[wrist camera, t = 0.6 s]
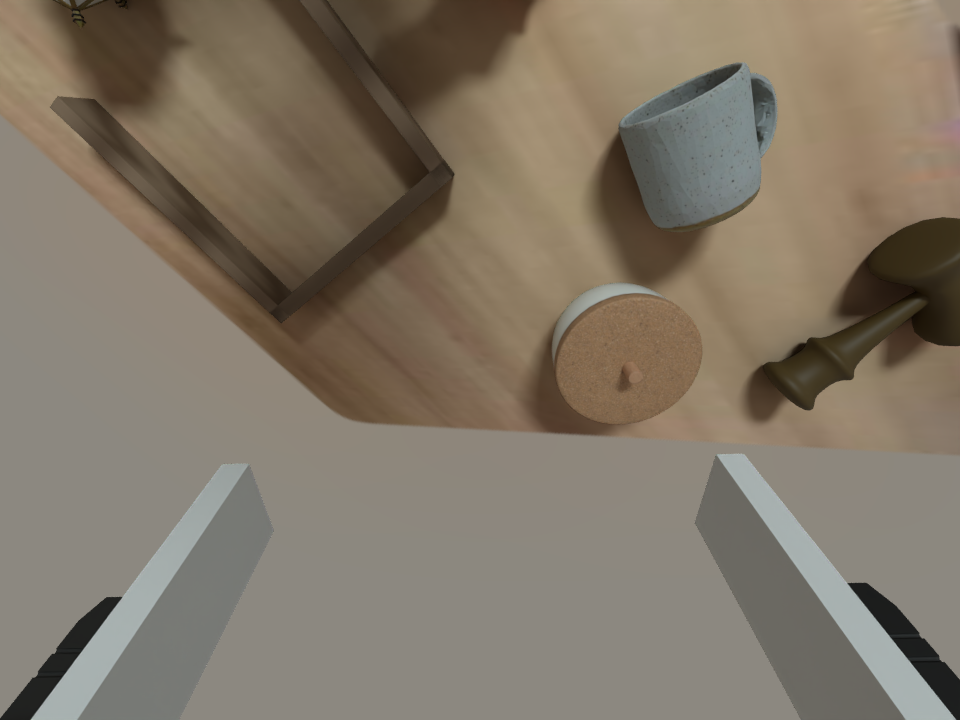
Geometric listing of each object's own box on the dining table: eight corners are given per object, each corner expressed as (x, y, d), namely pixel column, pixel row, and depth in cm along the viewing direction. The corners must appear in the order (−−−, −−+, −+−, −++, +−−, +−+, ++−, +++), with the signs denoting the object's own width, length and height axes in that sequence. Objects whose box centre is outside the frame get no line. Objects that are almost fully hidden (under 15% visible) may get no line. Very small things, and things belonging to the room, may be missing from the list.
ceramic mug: (640, 227, 35) (681, 250, 28) (603, 126, 31) (640, 123, 24) (774, 157, 32) (855, 163, 26) (750, 40, 29) (836, 11, 22)
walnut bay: (86, 109, 31) (49, 107, 28) (248, -106, 26) (222, -134, 23) (295, 309, 38) (281, 323, 35) (454, 173, 33) (452, 177, 30)
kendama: (734, 344, 40) (969, 172, 33) (786, 400, 44) (1009, 255, 36) (772, 379, 35) (1060, 184, 28) (827, 440, 38) (1099, 280, 31)
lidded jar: (628, 239, 35) (674, 273, 27) (683, 336, 39) (738, 391, 31) (518, 313, 38) (530, 364, 30) (580, 395, 42) (605, 460, 34)
